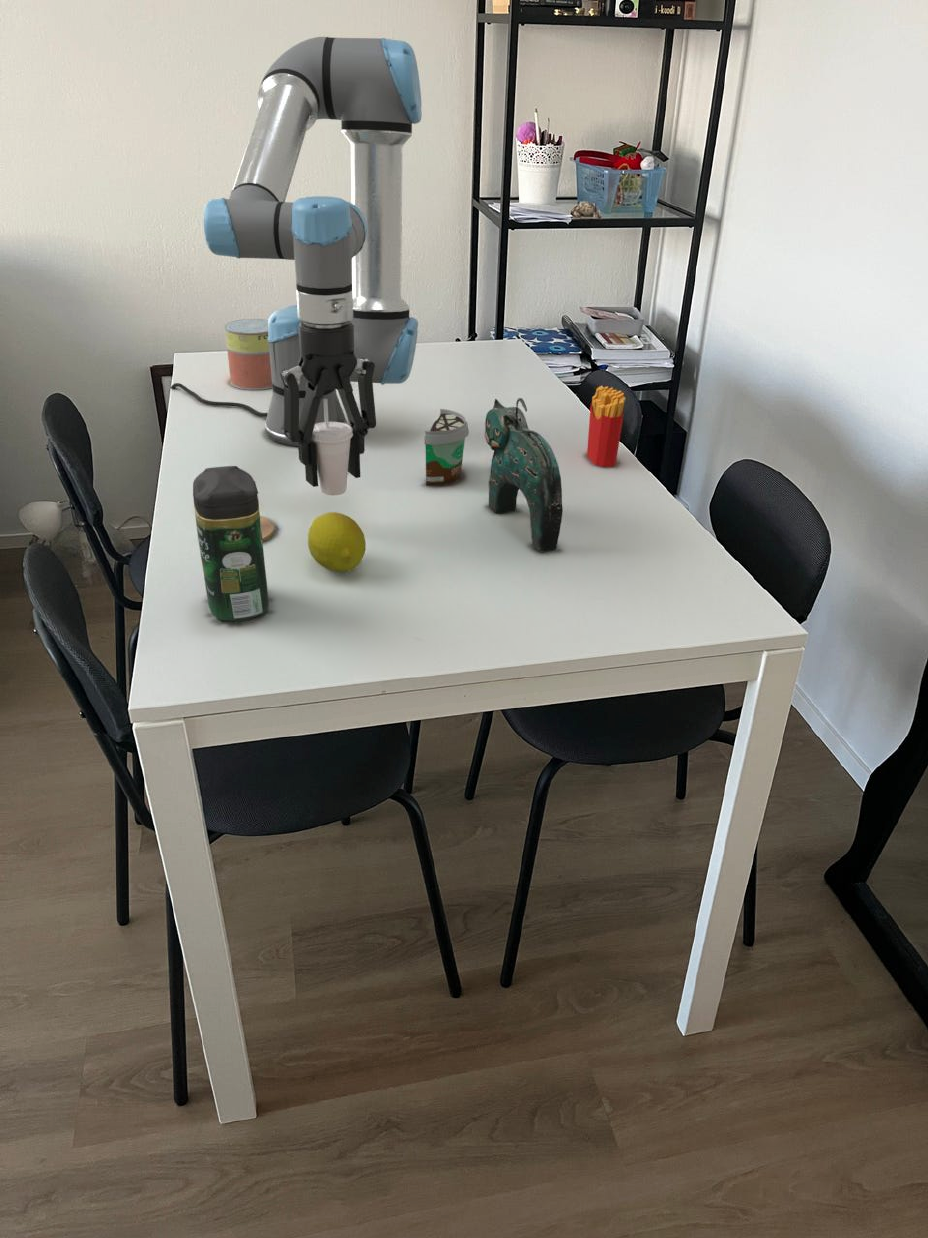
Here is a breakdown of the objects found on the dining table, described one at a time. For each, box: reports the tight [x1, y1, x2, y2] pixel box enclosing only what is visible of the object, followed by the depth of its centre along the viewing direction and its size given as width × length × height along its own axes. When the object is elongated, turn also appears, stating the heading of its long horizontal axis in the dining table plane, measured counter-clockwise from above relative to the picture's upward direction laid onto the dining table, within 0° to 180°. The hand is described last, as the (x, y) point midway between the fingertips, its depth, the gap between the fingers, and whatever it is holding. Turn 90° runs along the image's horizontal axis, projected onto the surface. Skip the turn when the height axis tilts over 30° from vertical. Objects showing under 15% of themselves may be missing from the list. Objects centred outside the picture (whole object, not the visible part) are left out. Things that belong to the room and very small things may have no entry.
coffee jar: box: [192, 465, 270, 622], centre depth 121 cm, size 10×8×19 cm
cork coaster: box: [260, 515, 276, 543], centre depth 144 cm, size 10×10×1 cm
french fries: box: [586, 385, 626, 468], centre depth 169 cm, size 9×4×13 cm, turn 15°
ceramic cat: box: [484, 397, 564, 553], centre depth 143 cm, size 20×6×20 cm, turn 23°
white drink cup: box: [311, 399, 353, 497], centre depth 138 cm, size 6×6×14 cm
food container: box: [424, 408, 470, 487], centre depth 161 cm, size 12×6×10 cm, turn 168°
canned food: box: [224, 318, 272, 391], centre depth 202 cm, size 11×11×12 cm
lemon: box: [307, 511, 367, 573], centre depth 133 cm, size 11×8×8 cm
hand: (333, 478), depth 141 cm, fingers closed on white drink cup, 6 cm apart
